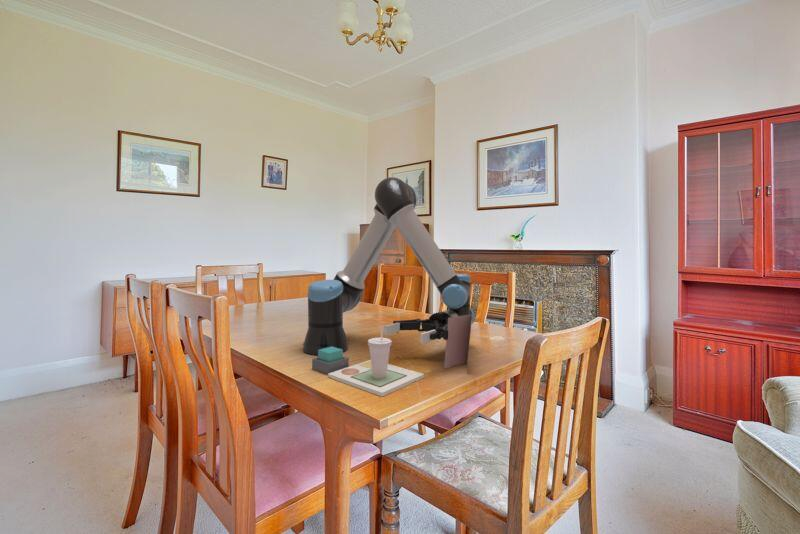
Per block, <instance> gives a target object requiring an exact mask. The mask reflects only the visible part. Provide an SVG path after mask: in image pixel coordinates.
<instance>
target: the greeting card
mask: <svg viewBox="0 0 800 534" xmlns="http://www.w3.org/2000/svg"><path fill="white" fill-rule="evenodd" d="M471 318H472V314H470V315H464V316H457V317H450V318H448V327H447V330H448V340H445V354H444V366H443V369H444V370H445V369H448V368H450V367H454V366H458V365H461V364H465V363H466V368H468V367H469V353H470V342H471V330H472V325H471Z"/></svg>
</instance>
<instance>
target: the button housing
mask: <svg viewBox="0 0 800 534" xmlns="http://www.w3.org/2000/svg"><path fill="white" fill-rule="evenodd" d="M311 362H312V363H311V365H312V367H311V368H312V370H313V369H314V371H316V370H317V372H319V371H320V372H319V373H322V372H323V373H322V374H325V373H326V374H325V375H328V374H329V373H332V372H335V371H338V370H341V369H344V368H347V367H350V366H349V365H350V364H349V362H350V361H349V357H346V356H343V359H341V360H337V361H334V362H331V363H327V362H324V361H321V360H318V356H317V357H314V358H312V360H311Z"/></svg>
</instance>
